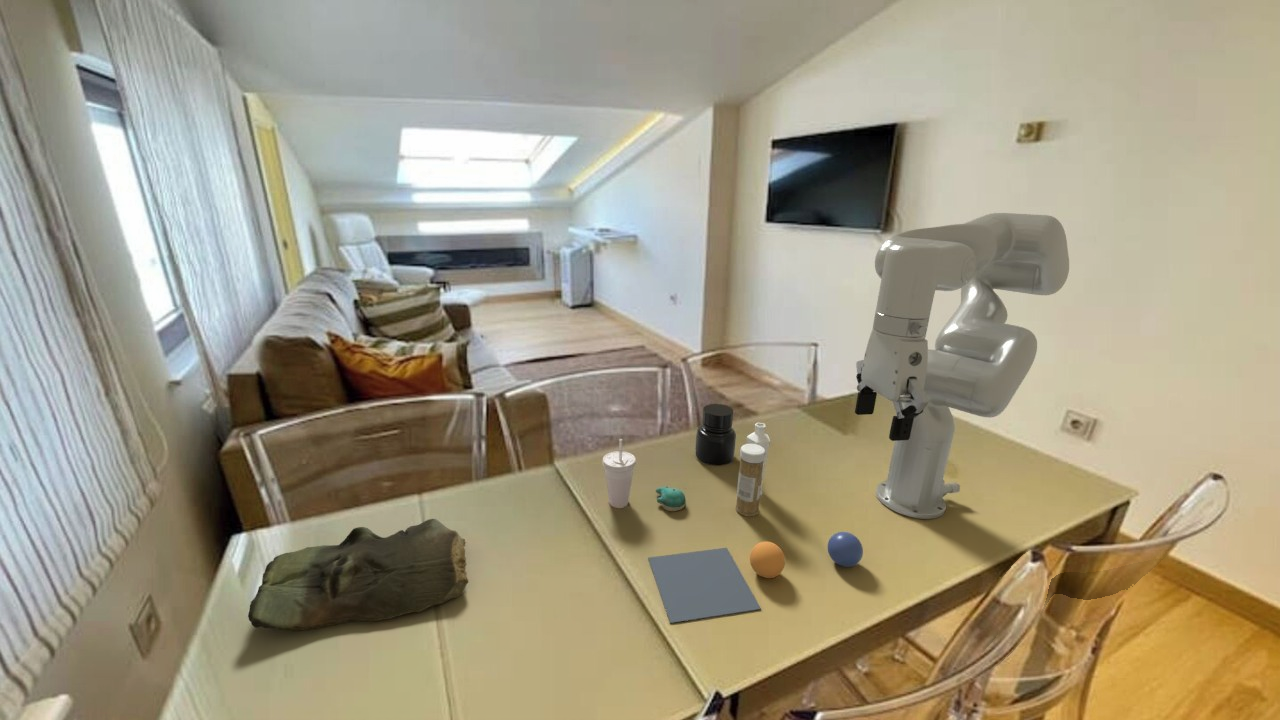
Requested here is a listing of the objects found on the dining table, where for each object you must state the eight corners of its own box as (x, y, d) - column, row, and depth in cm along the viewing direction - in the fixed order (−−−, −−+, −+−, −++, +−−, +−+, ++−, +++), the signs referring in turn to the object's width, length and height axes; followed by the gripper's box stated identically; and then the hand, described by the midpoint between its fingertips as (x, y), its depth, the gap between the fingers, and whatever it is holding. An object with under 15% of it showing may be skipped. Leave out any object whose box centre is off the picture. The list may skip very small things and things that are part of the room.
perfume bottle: (739, 494, 107) (746, 427, 102) (744, 483, 111) (750, 418, 106) (762, 499, 106) (770, 432, 101) (766, 488, 109) (773, 423, 105)
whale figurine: (665, 516, 100) (666, 499, 98) (648, 496, 106) (648, 480, 105) (691, 509, 102) (692, 492, 101) (673, 490, 108) (674, 474, 107)
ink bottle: (729, 447, 126) (733, 401, 122) (740, 465, 118) (745, 417, 114) (689, 448, 125) (692, 402, 121) (698, 467, 117) (701, 418, 113)
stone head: (468, 594, 76) (238, 625, 67) (468, 630, 80) (251, 663, 71) (468, 497, 91) (282, 512, 83) (468, 531, 96) (291, 549, 87)
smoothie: (610, 515, 99) (611, 449, 95) (597, 497, 105) (597, 434, 100) (640, 506, 102) (642, 442, 98) (626, 490, 107) (627, 428, 103)
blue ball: (847, 550, 91) (852, 523, 90) (867, 571, 86) (872, 544, 85) (819, 553, 90) (823, 526, 88) (837, 576, 85) (842, 548, 83)
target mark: (726, 548, 91) (726, 547, 91) (760, 609, 78) (761, 608, 78) (648, 558, 88) (648, 557, 88) (670, 623, 75) (670, 622, 75)
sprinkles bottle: (763, 512, 101) (770, 450, 97) (746, 520, 99) (753, 456, 95) (746, 500, 105) (753, 440, 101) (729, 507, 102) (735, 446, 98)
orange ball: (773, 560, 88) (777, 532, 87) (789, 583, 83) (793, 554, 82) (743, 564, 87) (745, 536, 86) (756, 588, 82) (760, 559, 80)
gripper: (962, 340, 73) (937, 450, 79) (888, 312, 90) (871, 404, 95) (914, 341, 72) (891, 452, 78) (847, 312, 88) (832, 406, 94)
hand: (880, 426), depth 86 cm, fingers open, 9 cm apart
